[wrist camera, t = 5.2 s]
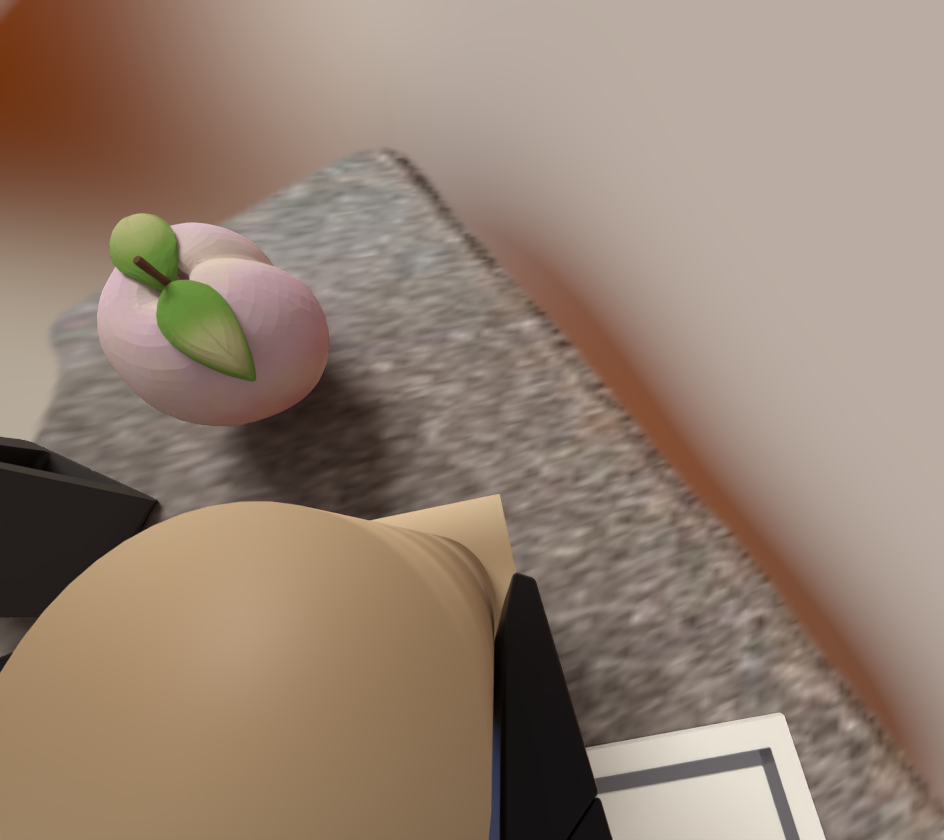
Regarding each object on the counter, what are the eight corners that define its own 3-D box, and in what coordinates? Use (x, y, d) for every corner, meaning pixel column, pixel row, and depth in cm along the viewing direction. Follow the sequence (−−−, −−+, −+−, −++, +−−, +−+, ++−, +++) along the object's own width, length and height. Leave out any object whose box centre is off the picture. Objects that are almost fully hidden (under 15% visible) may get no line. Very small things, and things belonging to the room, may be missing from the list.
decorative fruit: (171, 379, 24) (-45, 273, 15) (275, 281, 26) (141, 125, 16) (279, 485, 22) (111, 443, 13) (386, 372, 24) (309, 256, 14)
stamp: (531, 659, 14) (731, 1288, 2) (378, 691, 13) (-294, 1511, 2) (498, 504, 15) (508, 360, 4) (359, 532, 15) (-89, 481, 3)
